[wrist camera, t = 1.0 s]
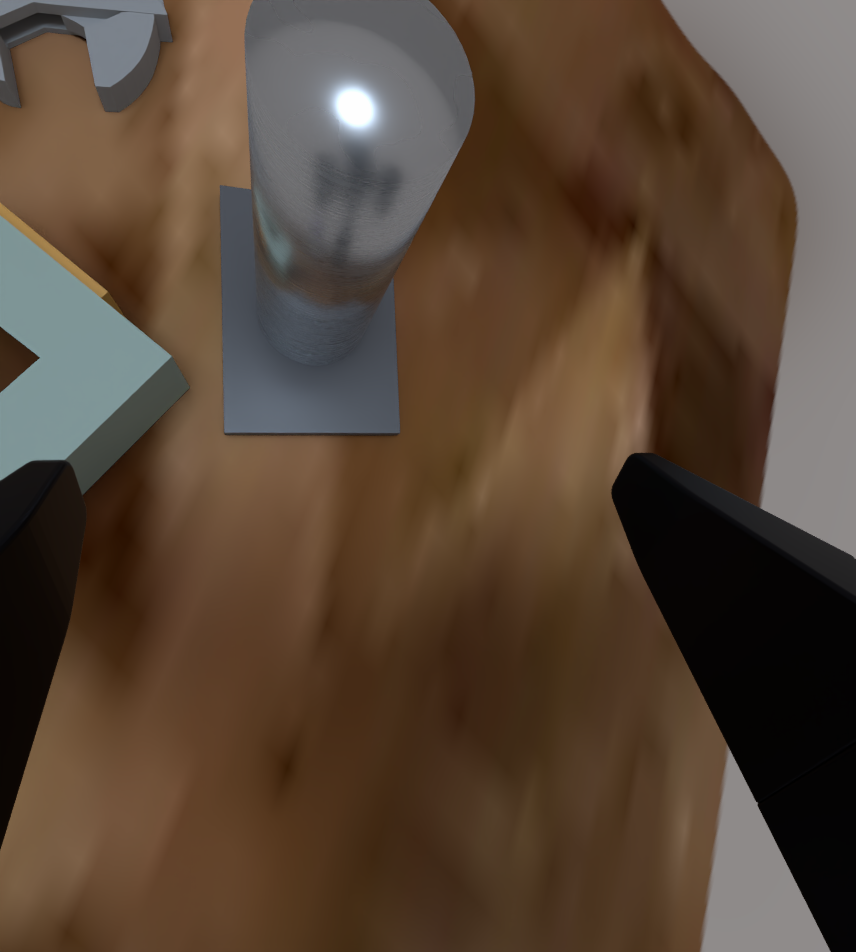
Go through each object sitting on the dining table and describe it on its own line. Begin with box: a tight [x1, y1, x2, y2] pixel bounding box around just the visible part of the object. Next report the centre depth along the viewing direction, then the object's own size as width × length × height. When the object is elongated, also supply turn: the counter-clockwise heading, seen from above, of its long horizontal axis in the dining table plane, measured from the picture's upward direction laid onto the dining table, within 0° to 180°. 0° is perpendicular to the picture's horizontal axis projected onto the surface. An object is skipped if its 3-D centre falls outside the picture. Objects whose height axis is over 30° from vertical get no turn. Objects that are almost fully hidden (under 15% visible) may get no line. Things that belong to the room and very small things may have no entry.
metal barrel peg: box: [245, 0, 475, 365], centre depth 15 cm, size 4×4×12 cm
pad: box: [220, 185, 400, 435], centre depth 21 cm, size 10×7×1 cm
